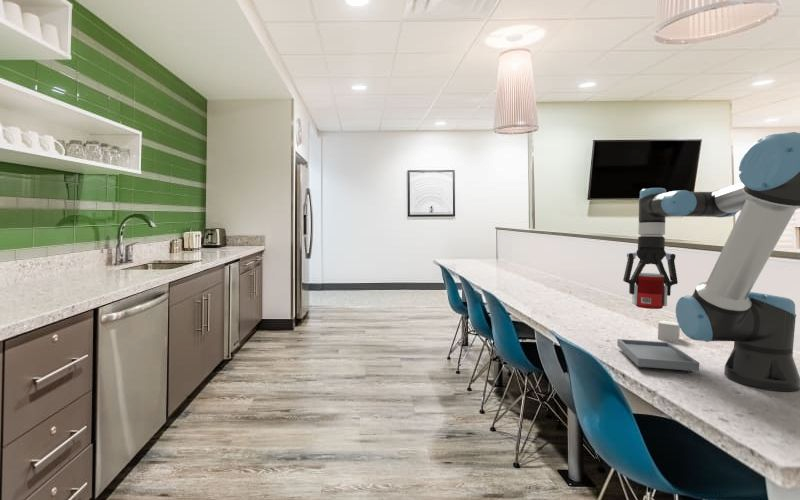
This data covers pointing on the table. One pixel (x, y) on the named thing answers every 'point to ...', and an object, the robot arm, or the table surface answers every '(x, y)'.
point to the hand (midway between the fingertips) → (649, 304)
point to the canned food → (650, 290)
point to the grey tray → (657, 355)
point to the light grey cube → (668, 331)
